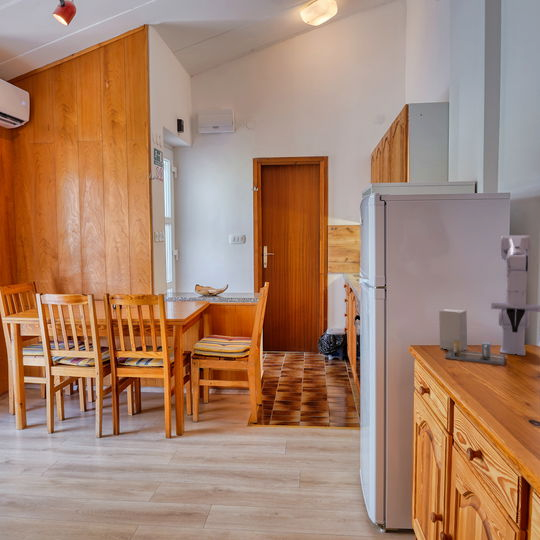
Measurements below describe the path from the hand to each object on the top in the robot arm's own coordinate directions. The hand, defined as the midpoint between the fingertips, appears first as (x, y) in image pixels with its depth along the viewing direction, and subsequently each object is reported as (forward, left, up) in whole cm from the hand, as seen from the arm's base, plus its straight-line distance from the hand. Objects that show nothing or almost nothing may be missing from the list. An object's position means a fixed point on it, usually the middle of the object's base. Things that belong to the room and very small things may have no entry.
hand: (514, 331), depth 152 cm
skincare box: (-9, -21, -10) cm, 25 cm away
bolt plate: (0, -12, -10) cm, 16 cm away
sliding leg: (+1, -8, -9) cm, 12 cm away
